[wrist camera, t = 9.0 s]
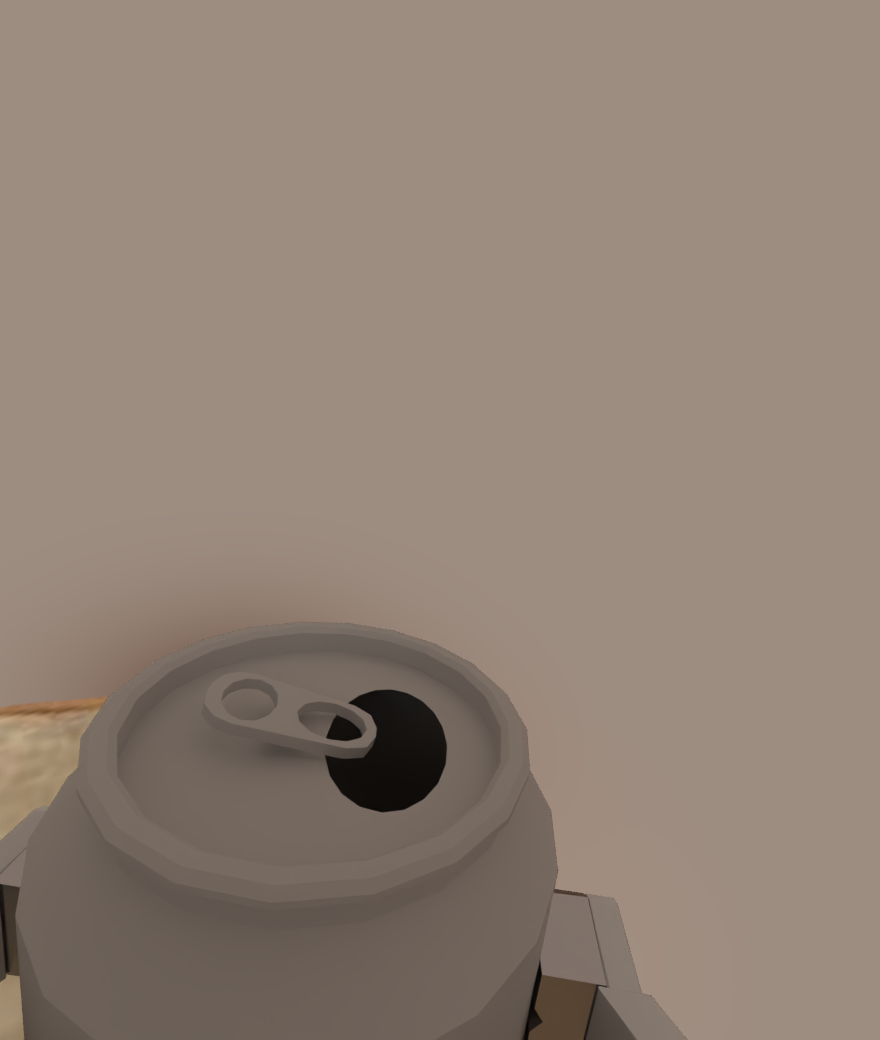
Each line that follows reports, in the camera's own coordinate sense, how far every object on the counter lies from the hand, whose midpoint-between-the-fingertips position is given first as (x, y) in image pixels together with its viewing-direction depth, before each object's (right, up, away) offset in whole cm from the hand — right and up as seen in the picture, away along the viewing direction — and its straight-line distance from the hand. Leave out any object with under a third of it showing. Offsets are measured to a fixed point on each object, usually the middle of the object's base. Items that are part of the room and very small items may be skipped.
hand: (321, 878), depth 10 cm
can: (-1, -8, +1) cm, 8 cm away
